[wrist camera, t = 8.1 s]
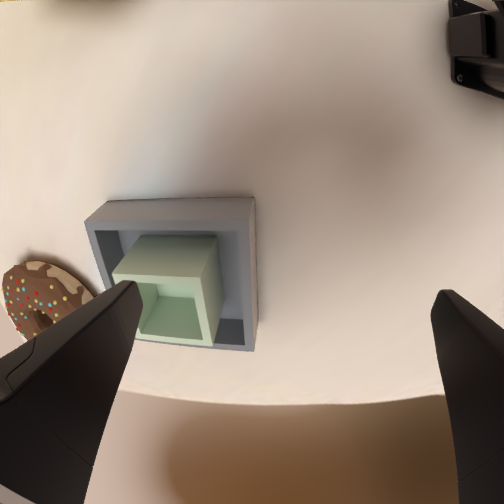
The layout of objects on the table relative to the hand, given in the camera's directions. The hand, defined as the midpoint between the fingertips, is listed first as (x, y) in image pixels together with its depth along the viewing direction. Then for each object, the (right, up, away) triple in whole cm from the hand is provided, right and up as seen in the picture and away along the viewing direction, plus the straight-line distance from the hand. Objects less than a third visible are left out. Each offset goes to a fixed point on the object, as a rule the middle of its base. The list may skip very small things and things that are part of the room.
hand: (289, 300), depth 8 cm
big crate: (-6, 0, +16) cm, 17 cm away
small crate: (-6, 0, +15) cm, 17 cm away
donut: (-22, -4, +21) cm, 31 cm away
